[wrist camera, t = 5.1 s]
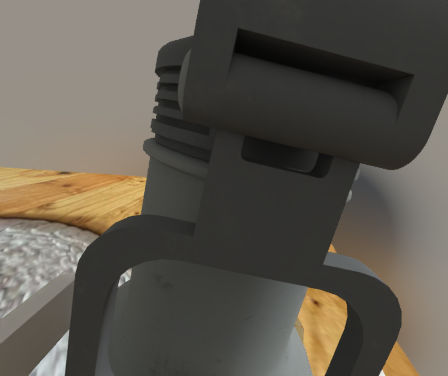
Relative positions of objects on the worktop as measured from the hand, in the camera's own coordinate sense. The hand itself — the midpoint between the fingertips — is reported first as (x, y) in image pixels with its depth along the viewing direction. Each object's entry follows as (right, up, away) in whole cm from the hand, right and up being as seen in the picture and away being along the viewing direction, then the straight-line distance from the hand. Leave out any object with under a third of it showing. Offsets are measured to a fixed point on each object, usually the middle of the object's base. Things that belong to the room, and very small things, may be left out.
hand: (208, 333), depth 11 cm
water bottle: (-4, -14, +2) cm, 14 cm away
